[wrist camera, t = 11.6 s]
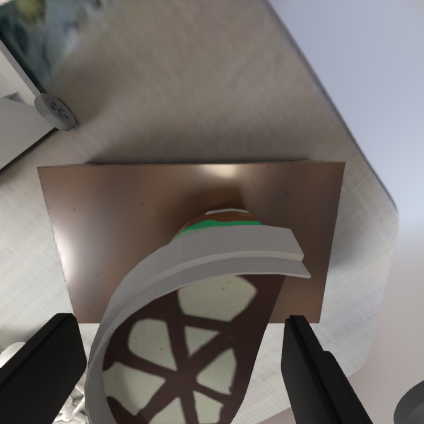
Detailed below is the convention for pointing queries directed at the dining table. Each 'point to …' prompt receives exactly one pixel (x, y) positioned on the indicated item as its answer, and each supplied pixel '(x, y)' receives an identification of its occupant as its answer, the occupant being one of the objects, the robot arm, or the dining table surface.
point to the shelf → (185, 219)
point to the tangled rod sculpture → (68, 408)
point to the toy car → (25, 110)
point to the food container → (190, 323)
